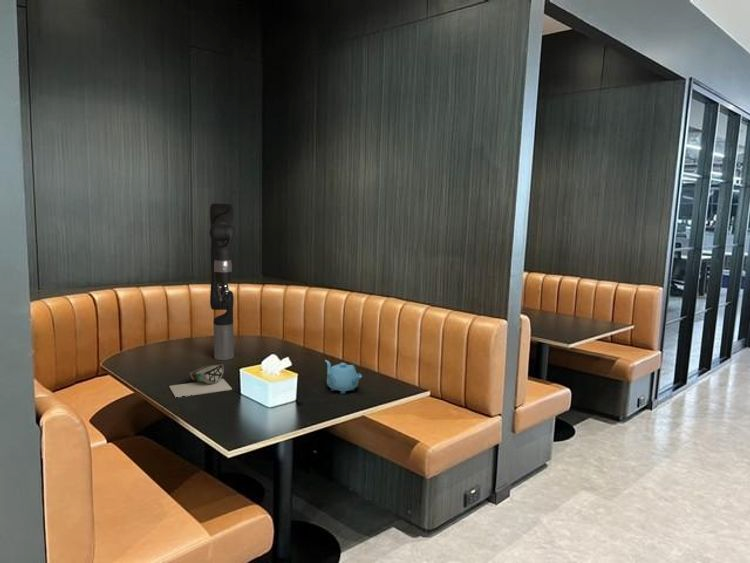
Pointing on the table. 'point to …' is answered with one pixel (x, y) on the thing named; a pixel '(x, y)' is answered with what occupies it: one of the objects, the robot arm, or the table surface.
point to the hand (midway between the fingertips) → (223, 309)
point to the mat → (199, 388)
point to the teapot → (342, 377)
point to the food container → (208, 374)
